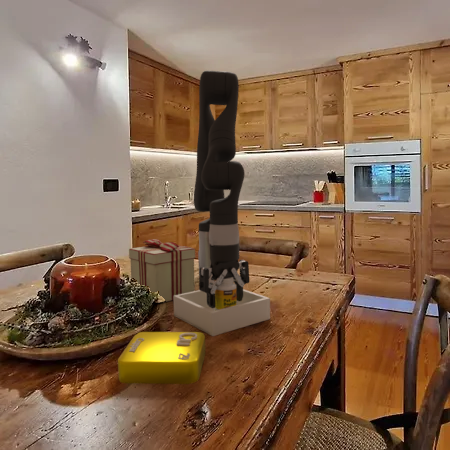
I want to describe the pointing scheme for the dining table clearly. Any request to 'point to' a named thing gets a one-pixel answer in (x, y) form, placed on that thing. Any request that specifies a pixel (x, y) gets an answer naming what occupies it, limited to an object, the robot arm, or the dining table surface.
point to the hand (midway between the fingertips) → (225, 303)
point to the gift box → (163, 267)
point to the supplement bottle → (225, 294)
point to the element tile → (162, 358)
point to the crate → (221, 312)
